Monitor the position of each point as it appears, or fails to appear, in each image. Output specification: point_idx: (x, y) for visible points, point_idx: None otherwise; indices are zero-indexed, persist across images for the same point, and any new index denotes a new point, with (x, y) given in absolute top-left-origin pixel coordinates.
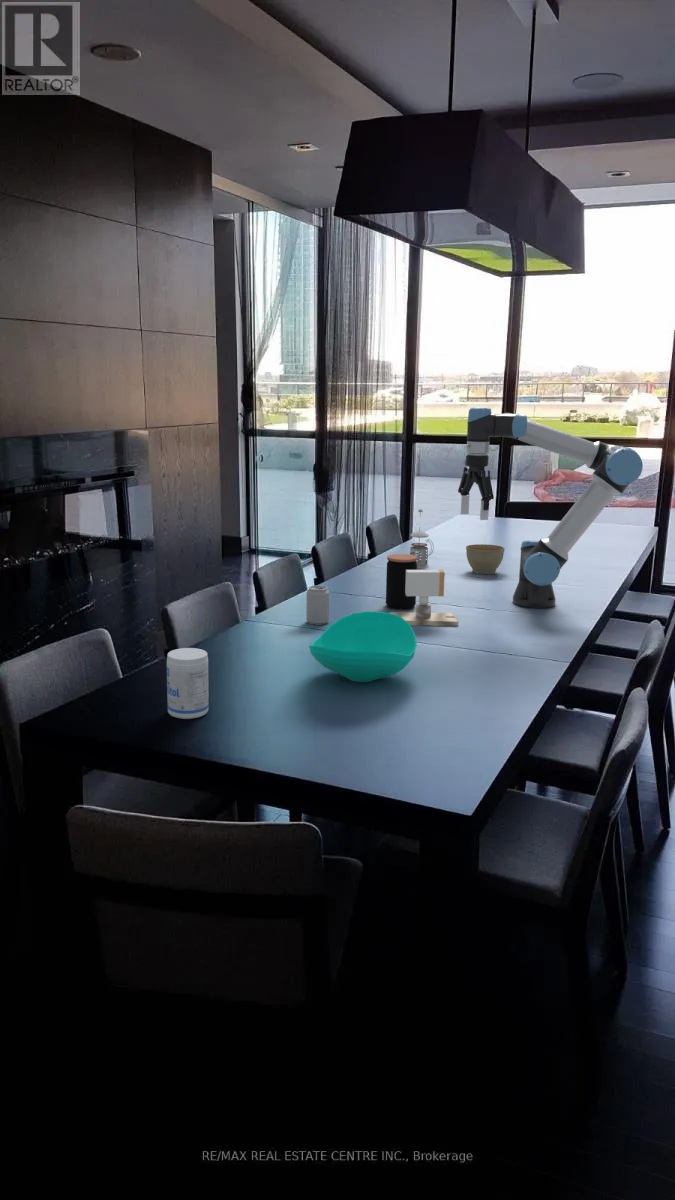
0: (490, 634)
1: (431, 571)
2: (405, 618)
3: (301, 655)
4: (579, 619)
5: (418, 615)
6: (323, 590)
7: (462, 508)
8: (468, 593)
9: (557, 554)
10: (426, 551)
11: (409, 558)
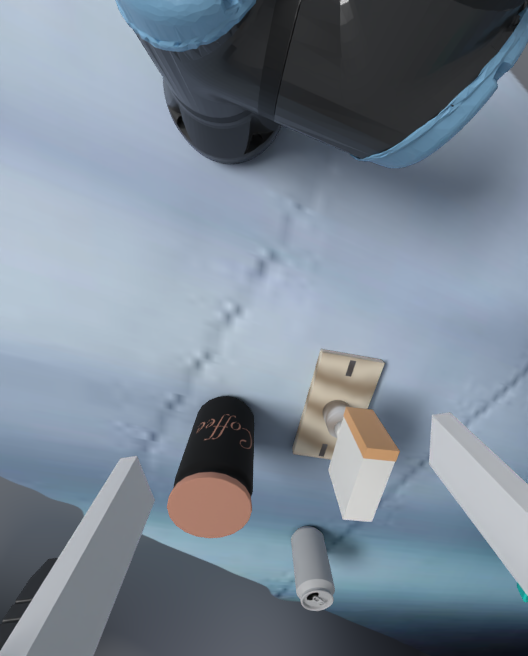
0: (451, 321)
1: (378, 475)
2: None
3: (443, 562)
4: None
5: None
6: (331, 594)
7: (133, 546)
8: (110, 245)
9: None
10: None
11: (237, 499)
